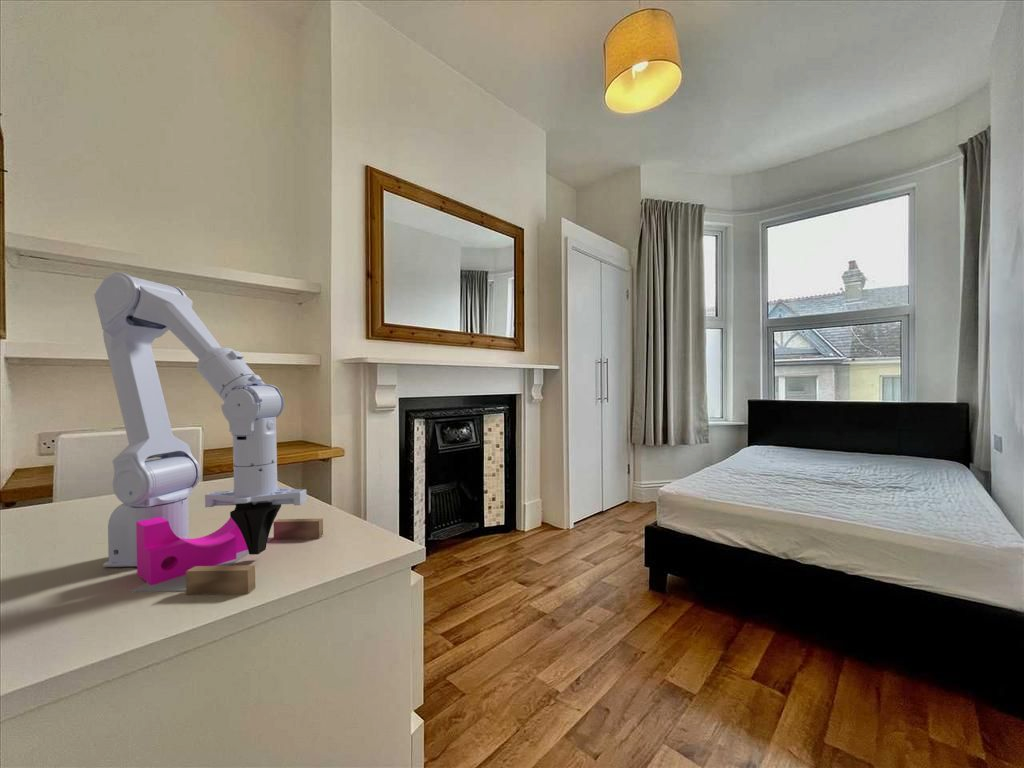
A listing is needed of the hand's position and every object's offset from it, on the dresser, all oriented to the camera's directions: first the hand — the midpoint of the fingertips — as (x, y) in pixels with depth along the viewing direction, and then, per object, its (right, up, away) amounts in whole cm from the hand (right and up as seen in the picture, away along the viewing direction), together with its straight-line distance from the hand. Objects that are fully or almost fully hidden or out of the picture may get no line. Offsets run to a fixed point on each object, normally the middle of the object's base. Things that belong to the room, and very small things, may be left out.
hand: (257, 552), depth 64 cm
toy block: (-8, -2, 0) cm, 8 cm away
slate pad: (-7, -1, 0) cm, 7 cm away
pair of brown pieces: (+1, -1, 0) cm, 2 cm away
